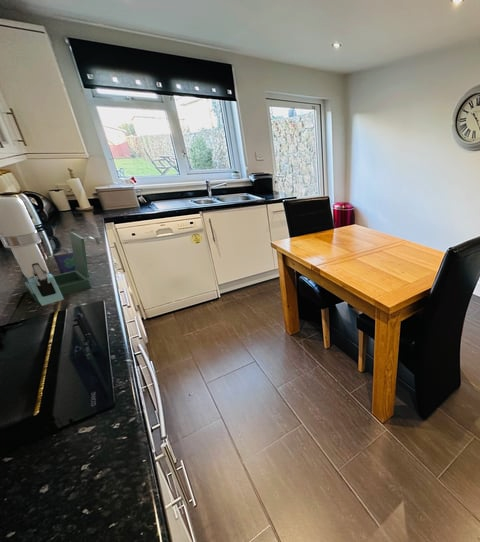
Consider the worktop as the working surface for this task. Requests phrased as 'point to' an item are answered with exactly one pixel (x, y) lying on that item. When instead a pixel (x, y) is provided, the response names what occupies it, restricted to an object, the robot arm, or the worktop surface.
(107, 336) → the worktop surface
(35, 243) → the robot arm
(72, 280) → the green open tray
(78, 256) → the bin lid
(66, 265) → the purple box
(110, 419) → the worktop surface
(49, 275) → the pale green block
